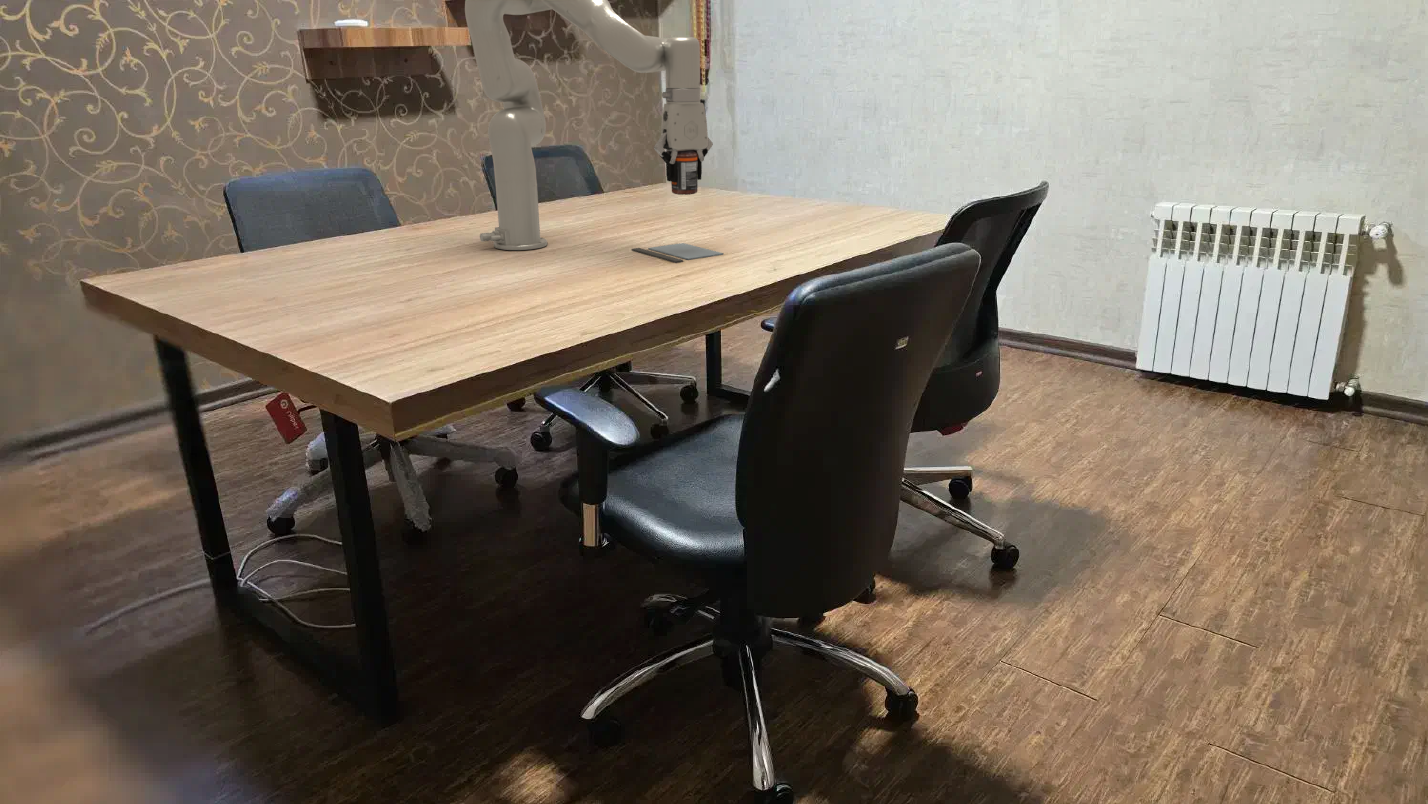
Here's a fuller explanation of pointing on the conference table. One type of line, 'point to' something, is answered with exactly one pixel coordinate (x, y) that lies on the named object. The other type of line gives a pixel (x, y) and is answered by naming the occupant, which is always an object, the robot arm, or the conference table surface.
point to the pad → (685, 251)
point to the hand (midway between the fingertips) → (684, 179)
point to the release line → (657, 255)
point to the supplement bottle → (686, 173)
